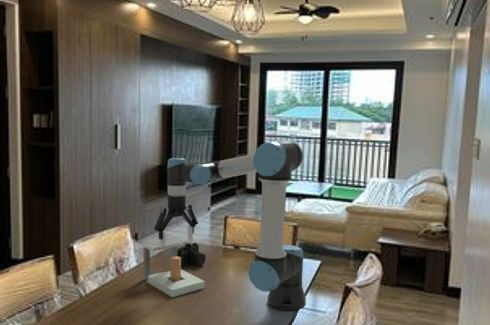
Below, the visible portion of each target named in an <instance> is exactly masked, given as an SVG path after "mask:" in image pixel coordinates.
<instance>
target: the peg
mask: <svg viewBox="0 0 490 325" xmlns="http://www.w3.org/2000/svg"><path fill="white" fill-rule="evenodd" d="M169 268H170V269H169V271H170V280H171V281H172V282H176V281H180V280H181V269H182V268H181V257H177V256H175V257H171V256H170V266H169Z"/></svg>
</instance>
